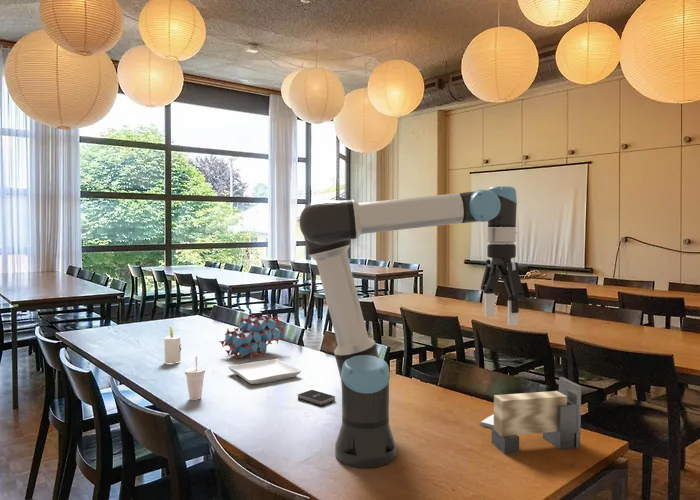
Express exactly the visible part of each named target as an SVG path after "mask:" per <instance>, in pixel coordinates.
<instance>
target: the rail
mask: <svg viewBox="0 0 700 500" xmlns="http://www.w3.org/2000/svg"><path fill="white" fill-rule="evenodd" d="M560 405H567V396H566V395H564V394H562V393H560V392H559V390H552V391H551V390H550V391H538V392H537V391H535V392H522V393H507V394H494V395H493V414H494V430H495V431H496V432H497V433H498V434H500V435H501V436H510V435H518V436H519V435H521V436H522V435H532V434H543V433H546V432H558V406H560Z"/></svg>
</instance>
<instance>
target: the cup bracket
mask: <svg viewBox="0 0 700 500" xmlns="http://www.w3.org/2000/svg"><path fill="white" fill-rule="evenodd" d="M558 392H560V393H562V394H564V395H566V396H567V405H560V406H558V432H546V433H542V438H543V439H544V440H546V441H547V442H549V443H550V444H551V445H552V446H554V447H555V448H556V449H558V450H559V451H560V450H561V451H562V450H571V449H580V448H581V424H582V423H581V421H582V420H581V417H582V416H581V413H582V407H581V406H582V386H581V385H580V384H578V383H576V382H573V381H571V380H569V379H567V378H565V377H558Z"/></svg>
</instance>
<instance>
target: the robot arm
mask: <svg viewBox="0 0 700 500" xmlns="http://www.w3.org/2000/svg"><path fill="white" fill-rule="evenodd" d="M517 198H518V197H517V190H516V188H515V187H513V186H507V185H506V186H505V185H504V186H491V187H488V189H478V190H477V191H466V192H456V193H455V192H454V193H446V194H436V195H426V196H415V197H406V198H396V199H387V200H377V201H368V202H367V201H366V202H357V201H356V200H354V199H345V200H331V199H316V200H314V201H312V202H310V203H308V204H306V206H305V207H304V209H302V211H301V213H300V216H299V228H300V232H301V234H302V235H303V239H304V243H305V245H306V250H307V254H308V256H309V257H310V258H312V259H313V260H315V263H316V265H317V269H318V274H319V277H320V281H321V285H322V289H323V293H324V297H325V300H326V304H327V308H328V312H329V313H328V314H329V316H330V319H331V320H330V321H331V324H332V328H333V332H334V336H335V339H336V344H337V346H336V348H335V349H334V351H333V353H334V358H335V361H336V365H337V369H338V373H339V377H340V384H341V418H342V419H341V425H340V428H339V432H338V436H337V438H336V441H335V447H334V455H335V458H336V459H337V460H338V461H339V462H341V463H342V464H345V465H347V466H351V467H355V468H378V467H382V466H386V465H388V464H390V463H392V462H393V461H394V460H395V459H396V456H397V445H396V441H395V440H394V439H395V438H394V435H393V433H392V429H391V426H390V377H391V374H390V369H389V364H388V363H387V361H385V360H384V359H383V358H380V356H379V352H378V348H377V344H376V341H375V340H374V339H372V338H370V337H369V335H368V331H367V327H366V323H365V320H364V315H363V312H362V308H361V304H360V299H359V296H358V292H357V288H356V284H355V279H354V276H353V272H352V268H351V265H350V259H349V255H348V250H349V248H350V247H351V242H350V240H356V239H359V237H360V236H361V235H364V234H375V233H383V232H390V231H391V232H393V231H400V230H411V229H421V228H427V227H428V228H429V227H437V226H438V227H439V226H447V225H455V224H456V225H458V224H468V223H469V224H470V223H478V222H479V223H483V222H487V229H486V231H487V233H486V234H487V236H486V237H487V240H486V241H487V242H488V243H489V244H487V247H486V248H487V252H486V253H487V258H489V259H486V260H485V269H484V273H483V277H482V281H481V285H480V290H481V291H483V293H484V317H495V312H496V311H495V307H496V305H495V303H496V302H495V299H496V296H495V295H496V291H495V288H496V286H497V283H498V282H499V280H502V282H503V284H504V287H505V289H506V292H507V296H508V297H507V300H506V301H507V326H519V317H520V316H519V313H520V312H519V310H520V308H519V305H520V304H519V303H520V301H521V300H523V299H525V295H524V294H525V293H524V290H523V285H522V281H521V280H522V279H521V277H520V273H519V264H518V262H512V259H514V258H516V257H517V245H516V244H514V243H515V242H517V239H516V238H517V234H518V232H517V206H518V201H517V200H518V199H517Z"/></svg>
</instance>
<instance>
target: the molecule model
mask: <svg viewBox="0 0 700 500" xmlns="http://www.w3.org/2000/svg"><path fill="white" fill-rule="evenodd" d="M278 322H279V323H281V320H280V319H279V318H278V316H274V317H270V314H267V315H262V316H259V317H256V315H254V314H253V315H251V316H249V315H248V316H247V318H243V315H241V319H240V320H239V327H238V328H236V327H235V328H233V331H231V330H229V328H227V331H226V332H225V334H224V335H225V336H224V337H225V338H224V340H222V341H221V340H219V343H220V344H221V347H223V348H224V347H226V346H228V347H229V349H228V350H225V352H226V354H227V356H228V355H229V357H230V356H233V355H234V356H235V358H236V357H237V358H236V360H238V359H239V358H243V357H245V356H248V355H250V358H251V357H252V358H251V359H254V358H259V354H262V355H263V357H265V355H266V352H267V351H268V350H267V348H268V345H272V344H273V341H275V342H276V344H277V345H278V344H279V341H280V339H281V333H282V332H286V330H285V329H284V326H283V325H279V326H276V323H278Z"/></svg>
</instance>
